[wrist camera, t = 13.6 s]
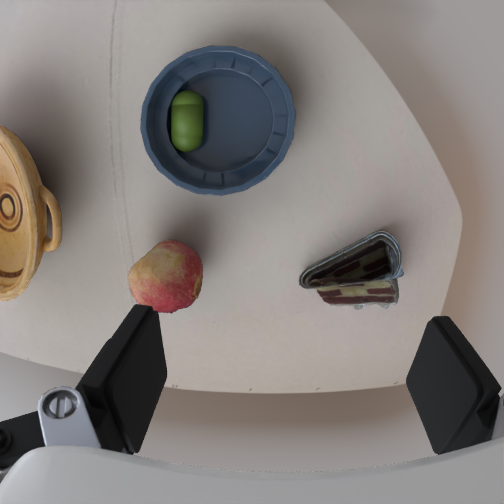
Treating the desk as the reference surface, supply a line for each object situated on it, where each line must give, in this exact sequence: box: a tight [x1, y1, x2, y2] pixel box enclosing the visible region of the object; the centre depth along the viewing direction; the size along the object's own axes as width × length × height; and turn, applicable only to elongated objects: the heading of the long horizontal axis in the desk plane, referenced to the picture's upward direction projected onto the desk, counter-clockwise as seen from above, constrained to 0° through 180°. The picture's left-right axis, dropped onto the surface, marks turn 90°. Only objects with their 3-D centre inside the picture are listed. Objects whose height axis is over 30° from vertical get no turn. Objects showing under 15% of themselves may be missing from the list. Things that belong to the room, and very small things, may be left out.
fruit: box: [128, 240, 203, 313], centre depth 33 cm, size 8×8×8 cm
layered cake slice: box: [299, 231, 404, 310], centre depth 35 cm, size 10×7×12 cm
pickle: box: [171, 90, 204, 152], centre depth 29 cm, size 6×3×3 cm
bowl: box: [140, 46, 296, 196], centre depth 28 cm, size 14×14×5 cm
